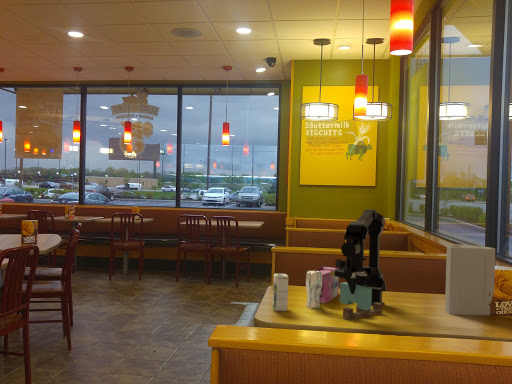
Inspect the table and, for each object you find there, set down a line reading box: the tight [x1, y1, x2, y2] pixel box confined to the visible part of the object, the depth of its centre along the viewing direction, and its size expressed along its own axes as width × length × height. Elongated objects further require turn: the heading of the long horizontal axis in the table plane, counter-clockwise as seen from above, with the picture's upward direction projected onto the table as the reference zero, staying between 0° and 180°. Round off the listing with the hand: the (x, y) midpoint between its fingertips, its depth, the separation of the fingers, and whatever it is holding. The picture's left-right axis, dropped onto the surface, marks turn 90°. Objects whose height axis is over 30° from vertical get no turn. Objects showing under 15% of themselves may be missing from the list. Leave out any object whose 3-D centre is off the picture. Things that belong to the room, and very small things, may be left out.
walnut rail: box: [342, 302, 384, 321], centre depth 180 cm, size 20×3×4 cm, turn 125°
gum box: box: [313, 265, 340, 304], centre depth 210 cm, size 24×8×14 cm, turn 156°
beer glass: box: [305, 270, 322, 309], centre depth 193 cm, size 7×7×15 cm
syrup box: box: [271, 273, 289, 312], centre depth 186 cm, size 6×6×14 cm
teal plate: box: [339, 281, 372, 310], centre depth 178 cm, size 14×3×8 cm, turn 35°
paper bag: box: [444, 243, 496, 316], centre depth 195 cm, size 19×15×28 cm
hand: (355, 293), depth 178 cm, fingers closed on teal plate, 3 cm apart
